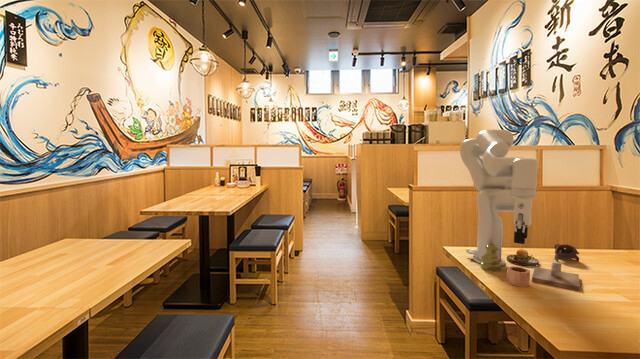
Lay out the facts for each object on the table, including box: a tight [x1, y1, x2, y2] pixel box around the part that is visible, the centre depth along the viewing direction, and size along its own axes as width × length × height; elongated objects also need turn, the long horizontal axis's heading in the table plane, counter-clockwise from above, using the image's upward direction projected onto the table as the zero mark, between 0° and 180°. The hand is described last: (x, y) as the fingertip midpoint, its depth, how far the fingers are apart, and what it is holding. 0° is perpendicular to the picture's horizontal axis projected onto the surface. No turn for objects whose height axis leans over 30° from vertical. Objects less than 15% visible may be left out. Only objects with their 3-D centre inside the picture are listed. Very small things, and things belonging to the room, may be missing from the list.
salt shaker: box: [480, 244, 502, 272], centre depth 136 cm, size 7×7×10 cm
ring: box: [506, 265, 531, 288], centre depth 121 cm, size 7×7×5 cm
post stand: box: [531, 261, 581, 292], centre depth 125 cm, size 14×14×6 cm
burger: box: [506, 248, 540, 267], centre depth 145 cm, size 12×12×8 cm
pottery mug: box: [553, 243, 580, 262], centre depth 148 cm, size 12×10×8 cm
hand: (520, 240), depth 120 cm, fingers open, 9 cm apart
